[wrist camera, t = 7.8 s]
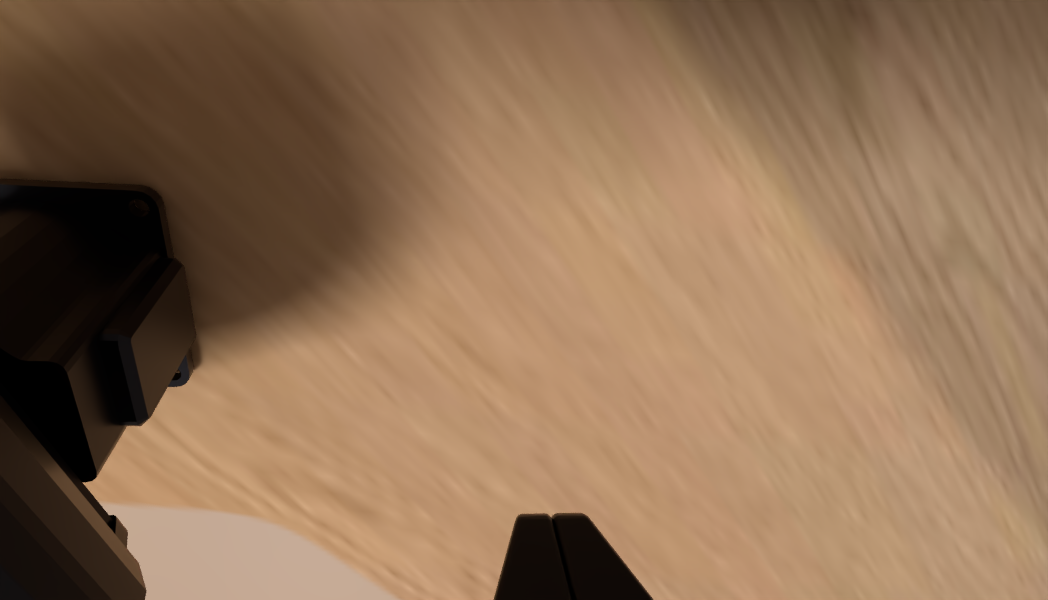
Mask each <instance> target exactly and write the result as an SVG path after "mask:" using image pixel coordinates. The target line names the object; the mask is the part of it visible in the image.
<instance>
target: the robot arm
mask: <svg viewBox="0 0 1048 600" xmlns="http://www.w3.org/2000/svg"><path fill="white" fill-rule="evenodd" d="M135 199H139V200H142V201H144V202H145V203H146V204H147V205H148V207H149V211H143V210H140V209H139V208H138V207H137V206H136V204H135V202H134V200H135ZM195 337H196V331H195V326H194V320H193V314H192V309H191V303H190V297H189V291H188V286H187V280H186V274H185V268H184V266H183V264H182V263H181V262H180V261H179V260H178V259H176V258H174V256H173V251H172V245H171V240H170V234H169V229H168V223H167V218H166V212H165V207H164V202H163V200H162V198H161V196H160V195H159V194H158V193H157V192H156V191H155V190H153V189H152V188H150V187H147V186H142V185H125V184H103V183H82V182H61V181H39V180H18V179H0V600H145V596H146V588H145V584H144V581H143V577H142V573H141V569H140V566H139V563H138V562H137V560H136V559H135V558H134V557H133V555H131V553H130V552H129V551H128V549H127V536H128V532H127V530H126V528H125V527H124V526H123V524H122V523H121V522H120V521H119V519H118V518H117V517H116V516H114V515H108V514H107V512H106V511H105V510H104V509H103V507H102V506H101V505H100V504H99V502H98V501H97V500H96V499H95V498H94V496H93V495H92V494H91V493H90V491H89V490H88V489H87V488H86V486H85V485H84V484H83V483H82V482H89V481H93V480H94V479H95V478H96V477H97V475H98V474H99V472H100V470H101V469H102V467H103V465H104V464H105V462H106V460H107V459H108V457H109V455H110V454H111V452H112V450H113V449H114V447H115V445H116V444H117V442H118V440H119V439H120V437H121V435H122V434H123V432H124V430H125V429H126V427H127V426H142V425H143V424H144V423H145V422H146V421H147V420H148V419H149V418H150V417H151V416H152V414H153V412H154V410H155V408H156V407H157V405H158V403H159V401H160V400H161V398H162V396H163V394H164V392H165V391H166V389H167V387H177V386H182V385H184V384H186V383H187V381H188V380H189V378H190V376H191V375H192V373H193V367H194V366H193V361H192V355H191V350H190V346H191V344H192V343H193V341H194V339H195ZM177 369H178V370H179V371H180V373H176V371H177ZM494 600H653V598H652V597H651V596H650V595H649V593H648V592H647V591H646V590H645V588H644V587H643V586H642V584H641V583H640V582H639V581H638V579H637V578H636V577H635V576H634V574H633V573H632V572H631V571H630V569H629V568H628V567H627V565H626V564H625V563H624V562H623V560H622V559H621V558H620V557H619V555H618V554H617V553H616V551H615V550H614V549H613V548H612V546H611V545H610V544H609V543H608V541H607V540H606V539H605V537H604V536H603V535H602V534H601V532H600V531H599V530H598V529H597V527H596V526H595V525H594V524H593V522H592V521H591V520H590V518H589V517H588V516H586V515H585V514H583V513H557V514H554V515H553V516H552V517H550V516H549V515H548V514H544V513H543V514H520V515H518V516H517V518H516V520H515V524H514V527H513V531H512V535H511V538H510V542H509V545H508V549H507V553H506V556H505V560H504V564H503V567H502V571H501V575H500V578H499V582H498V586H497V589H496V593H495V596H494Z"/></svg>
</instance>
